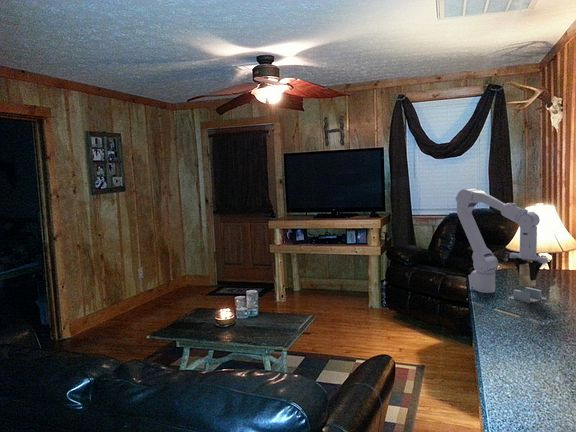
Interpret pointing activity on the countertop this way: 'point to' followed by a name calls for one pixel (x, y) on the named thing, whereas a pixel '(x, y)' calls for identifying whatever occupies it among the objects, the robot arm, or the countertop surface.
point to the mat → (509, 313)
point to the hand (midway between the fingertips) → (527, 279)
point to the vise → (527, 295)
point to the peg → (525, 276)
